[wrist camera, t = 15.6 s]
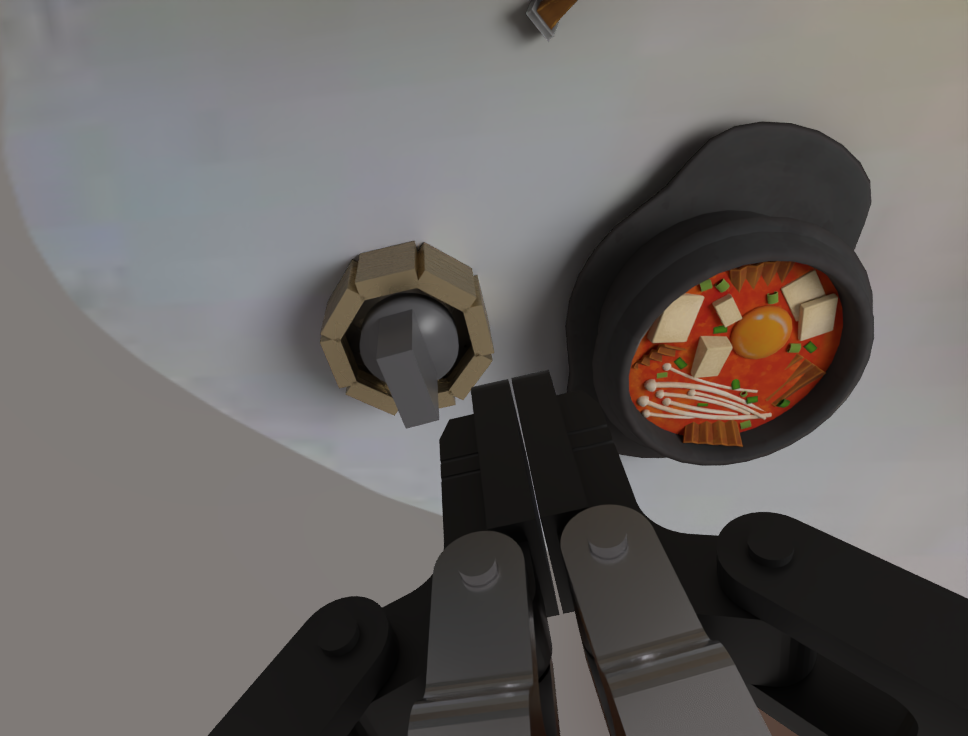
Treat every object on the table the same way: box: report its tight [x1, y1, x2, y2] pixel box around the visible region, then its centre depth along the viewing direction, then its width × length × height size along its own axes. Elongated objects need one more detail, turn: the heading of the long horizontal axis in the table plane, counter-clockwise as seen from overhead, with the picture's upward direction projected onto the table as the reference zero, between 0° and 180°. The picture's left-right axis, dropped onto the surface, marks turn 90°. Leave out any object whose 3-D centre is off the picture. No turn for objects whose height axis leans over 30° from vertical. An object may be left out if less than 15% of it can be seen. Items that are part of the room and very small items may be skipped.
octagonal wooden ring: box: [320, 241, 494, 416], centre depth 43 cm, size 10×10×4 cm
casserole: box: [566, 122, 874, 465], centre depth 42 cm, size 25×19×8 cm
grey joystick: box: [360, 293, 459, 428], centre depth 40 cm, size 6×6×6 cm
